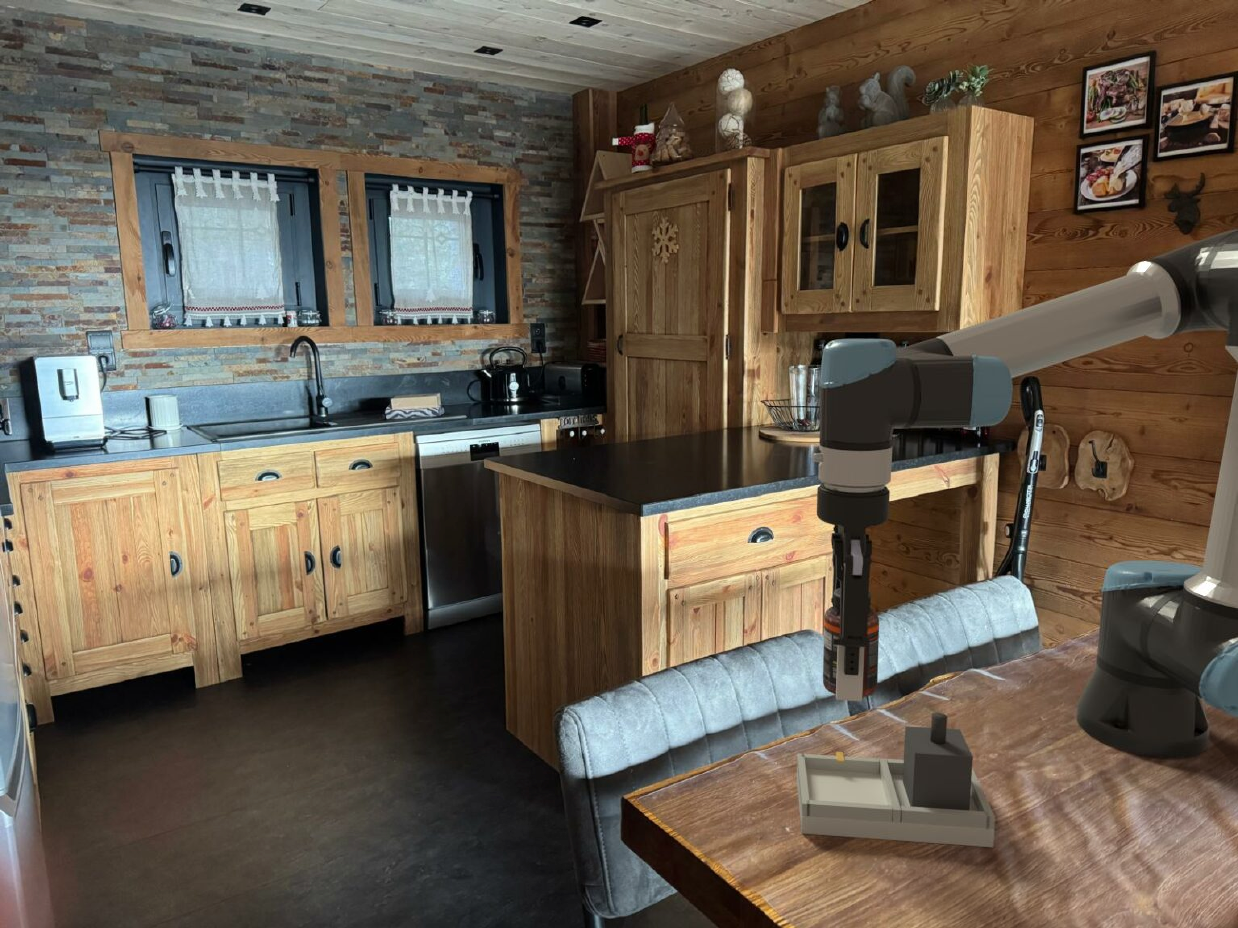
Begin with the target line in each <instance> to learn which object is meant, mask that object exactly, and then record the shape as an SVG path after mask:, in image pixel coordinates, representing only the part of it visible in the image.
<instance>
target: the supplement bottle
mask: <svg viewBox="0 0 1238 928" xmlns="http://www.w3.org/2000/svg"><path fill="white" fill-rule="evenodd" d="M871 597H872V595H871V592H869V597H868V627H867V639H868V644H867V647H864V667H863V691H862V698H866V697H868V696H871V695H872V694H874V693H875V692H876V691H877V688H878V678H879V677H878V676H879V675H878V674H879V672H878V671H879V670H878V669H879V642H880V641H879V638H880V618H879V615H878V613H877V612H876V611H875V610H874V609H872V608H871V605H872V603H871V600H872V598H871ZM833 603H834V605H832V606H830V607H829V608H828V609H826V611H825V612H824V617H823V621H824V622H823V655H822V656H823V658H822V659H823V660H822V663H823V664H822V665H823V666H822V684H823V686H824V688H825V689H826V690H827V692H829V693H831V694H833V695H835V696H836V677H837V649H838V645H833V639H839V637H840V588H839V589H836V590H835V591H834V594H833Z"/></svg>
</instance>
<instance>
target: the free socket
mask: <svg viewBox="0 0 1238 928" xmlns="http://www.w3.org/2000/svg"><path fill="white" fill-rule="evenodd" d="M796 757H797V758H796V761H797V762H796V770H797V769H798V780H799V790H800V800H801V810H802V816H810V817H825V818H839V819H853V820H868V821H882V822H892V807H891V805H878V804H863V803H849V802H834V801H819V800H809V792H808V784H807V775H806V769H816V770H832V771H848V772H864V773H879V758H878V757H863V756H844V753H843V751H836V752H835V755H826V754H811V753H797V756H796Z"/></svg>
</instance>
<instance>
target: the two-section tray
mask: <svg viewBox="0 0 1238 928" xmlns="http://www.w3.org/2000/svg"><path fill="white" fill-rule="evenodd" d="M878 759H879V773H864V772H848V771H832V770H816V769H806V775H807V784H808V792H809V800H819V801H834V802H849V803H863V804H878V805H891V807H892V822H882V821H868V820H853V819H839V818H825V817H810V816H802V810H801V800H800V790H799V780H798V769H797V768H796V787H797V788H796V789H797V797H798V799H797V800H798V807H799V808H798V809H799V818H800V819H799V820H800V829H801V834H803V835H805V834H806V835H808V834H809V835H818V836H819V835H820V836H829V837H830V836H831V837H832V836H833V837H846V838H859V839H860V838H861V839H873V840H885V841H886V840H888V841H902V842H915V843H928V844H939V845H940V844H942V845H955V846H956V845H957V846H970V847H971V846H972V847H981V848H982V847H984V848H994V843H995V842H994V841H995V820H996V816H995V814H994V813H995V812H994V811H993V809H992V808H991V805H990V803H989V801H988V799H987V797H986V794H985V792H984V790H983V788H982V786H981V784H980V781H979V778H978V777H977V775H976V773H975V771H974V768H973V767H972V778H971V793H970V808H969V811H968V810H953V809H938V808H923V807H910V804H909V800H908V797H907V794H906V791H905V788H904V784H903V765H904V759H898V758H896V759H894V758H880V757H879V758H878Z"/></svg>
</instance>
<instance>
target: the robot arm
mask: <svg viewBox="0 0 1238 928" xmlns="http://www.w3.org/2000/svg"><path fill="white" fill-rule="evenodd" d="M1197 331H1227V334H1226V341H1225V347H1224V349H1225V350H1226V351H1227V352H1228V353H1229V354H1230V355H1231V357H1233V359H1234V360H1235V361H1236V362H1237V363H1238V229H1237V228H1236V229H1233V230H1231V229H1230V230H1228V231H1224V232H1221V233H1220V232H1219V233H1218V234H1215V235H1212V236H1210V237H1206V238H1204V239H1201V240H1198V241H1195V242H1193V243H1190V244H1187V245H1184V246H1182V247H1179V248H1176V249H1173V250H1171V251H1168V252H1165V253H1163V254H1160V255H1157V256H1154V257H1152V258H1149V259H1146V260H1143V261H1140V262H1137V263H1135V264H1134V265H1132V266H1131V267H1130V268H1129V269H1128V271H1127V272H1126V275H1123V276H1120V277H1118V278H1115V279H1112V280H1109V281H1105V282H1102V283H1099V284H1096V285H1093V286H1090V287H1087V288H1084V289H1080V290H1078V291H1074V292H1071V293H1069V294H1065V295H1063V296H1062V295H1061V296H1059V297H1057V298H1053V299H1048V300H1047V301H1043V302H1040V303H1037V304H1035V305H1031V306H1028V307H1025V308H1022V309H1018V310H1016V311H1013V312H1010V313H1007V314H1004V315H1001V316H997V317H994V318H991V319H989V320H985V321H982V322H979V323H975V324H972V325H969V326H967V327H963V328H961V329H957V330H954V331H952V332H948V333H945V334H942V335H939V336H936V337H935V338H930V339H927V340H924V341H921V342H917V343H914V344H911V345H909V346H905V347H903V346H897V345H896V343H895V342H894V341H893V340H891V339H885V338H841V339H834V340H831V341H829V342H827V344H826V345H825V346H824V348H823V351H822V358H821V359H822V360H821V367H820V378H819V379H820V380H819V382H818V383H819V384H818V386H819V442H818V443H819V447H818V449H819V451H820V452H817V453H813V455H812V461H813V462H816V463H818V473H817V475H818V480H819V481H820V482H822V483H820V485H819V486H817V489H816V491H817V494H816V502H817V503H816V516H817V517H818V519H819V520H821V522H823V523H826V524H829V525H831V526H832V525H833V528H832V529H833V530H832V531H833V532H832V533H831V539H830V542H831V543H830V544H831V548H832V558H831V559H832V560H831V561H832V568H833V570H832V571H833V573H832V594H831V595H832V596H831V598H830V602H831V604H832V606H833V605H834V603H833V594H834V591H835V590H836V589H839V588H840V637H839V639H833V645H838V649H837V677H836V695H835V699H836V701H850V702H851V701H852V702H863V697H862V691H863V667H864V647H867V644H868V639H867V627H868V597H869V593H870V592H869V591H870V588H869V587H870V577H871V576H870V571H871V565H872V558H871V555H872V554H873V541H872V539H871V540H870V535H869V533H867V532H866V531H867V529H868V528H870V527H878V526H881V525H883V524H885V523H886V522H887V521H888V519H889V513H890V495H891V491H890V489H889V488H888V487H887V486H886V485H888V484H890V483H891V481H892V480H891V479H892V465H893V464H892V463H893V462H892V461H893V432H894V429H899V430H902V429H903V430H904V429H905V430H906V429H925V428H926V429H930V428H931V429H935V428H936V429H941V428H943V429H945V428H967V429H969V430H972V429H973V428H978V427H980V428H981V427H990V426H996V425H998V424H1000V423H1001V422H1002V421H1003V420H1004V419H1005V417H1007V415H1008V414H1009V413H1008V412H1009V411H1010V408H1011V406H1012V401H1013V389H1014V388H1013V387H1014V386H1013V379H1014V378H1016V377H1020V376H1022V375H1026V374H1028V373H1032V372H1035V371H1038V370H1041V369H1044V368H1047V367H1051V366H1054V365H1057V364H1060V363H1062V362H1065V361H1066V362H1067V361H1069V360H1073V359H1076V358H1079V357H1081V356H1084V355H1088V354H1091V353H1094V352H1097V351H1100V350H1104V349H1106V348H1110V347H1113V346H1116V345H1119V344H1122V343H1126V342H1128V341H1131V340H1135V339H1137V338H1141V337H1145V336H1146V337H1148V338H1151V339H1154V340H1155V339H1156V340H1160V339H1161V340H1162V339H1165V338H1168V337H1171V336H1174V335H1178V334H1183V333H1189V332H1197ZM1233 391H1234V392H1233V396H1232V402H1231V406H1230V413H1229V417H1228V418H1229V419H1228V424H1227V430H1226V436H1225V440H1224V446H1223V450H1222V451H1223V453H1222V458H1221V463H1220V468H1219V475H1218V480H1217V486H1216V491H1215V497H1214V501H1213V508H1212V513H1211V518H1210V524H1209V531H1208V536H1207V540H1206V541H1207V542H1206V547H1205V553H1204V559H1203V563H1202V567H1201V566H1197V565H1194V564H1189V563H1181V562H1176V561H1163V560H1124V561H1120V562H1115V563H1114V564H1112V565H1110V566H1109V567H1108V568H1107V570H1106V571H1105V573H1104V574H1105V575H1104V580H1103V582H1102V583H1103V584H1102V588H1101V590H1100V591H1101V593H1102V595H1101V597H1102V598H1101V607H1100V608H1101V609H1100V619H1099V630H1098V632H1099V633H1098V641H1097V653H1096V662H1095V668H1094V669H1093V672H1092V673H1091V676H1090V678H1089V679H1088V681H1087V683H1086V685H1085V687H1084V689H1083V691H1082V693H1081V694H1080V697H1079V698H1078V701H1077V709H1076V721H1077V723H1078V725H1079V726H1080V728H1081V729H1083V731H1084V732H1085V733H1087V734H1088V735H1090V737H1093V738H1095V739H1096V740H1098V741H1099V742H1101V743H1104V744H1106V745H1109V746H1111V747H1113V748H1117V749H1118V750H1122V751H1124V752H1125V751H1126V752H1128V753H1133V754H1136V755H1141V756H1145V757H1152V758H1159V759H1160V758H1161V759H1185V758H1193V757H1196V756H1198V755H1201V754H1203V753H1204V752H1205V751H1206V750H1207V749H1208V746H1209V739H1210V738H1209V737H1210V732H1211V731H1210V724H1209V720H1208V716H1207V714H1206V709H1205V707H1204V702H1205V703H1206V704H1207V705H1209V706H1210V707H1211V708H1215V709H1217V710H1221V711H1223V712H1225V713H1226V714H1228V715H1230V716H1232V717H1233V718H1236V719H1238V371H1237V373H1236V380H1235V386H1234V389H1233ZM1203 701H1204V702H1203Z"/></svg>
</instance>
